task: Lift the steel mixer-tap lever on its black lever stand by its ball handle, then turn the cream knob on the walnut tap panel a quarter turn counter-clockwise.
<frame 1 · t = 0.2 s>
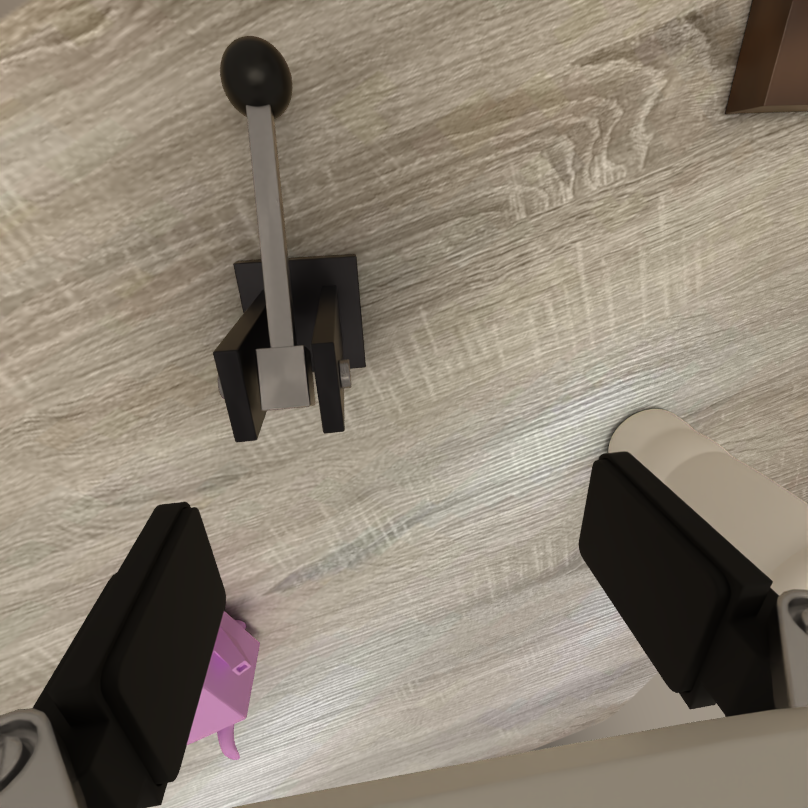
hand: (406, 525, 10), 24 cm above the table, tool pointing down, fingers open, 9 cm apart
black lever stand: (305, 314, 31), on the table
teapot: (207, 618, 43), on the table
water bottle: (639, 438, 41), on the table
faucet lever: (272, 229, 20), point 9 cm above the table, hinge at -25.0°
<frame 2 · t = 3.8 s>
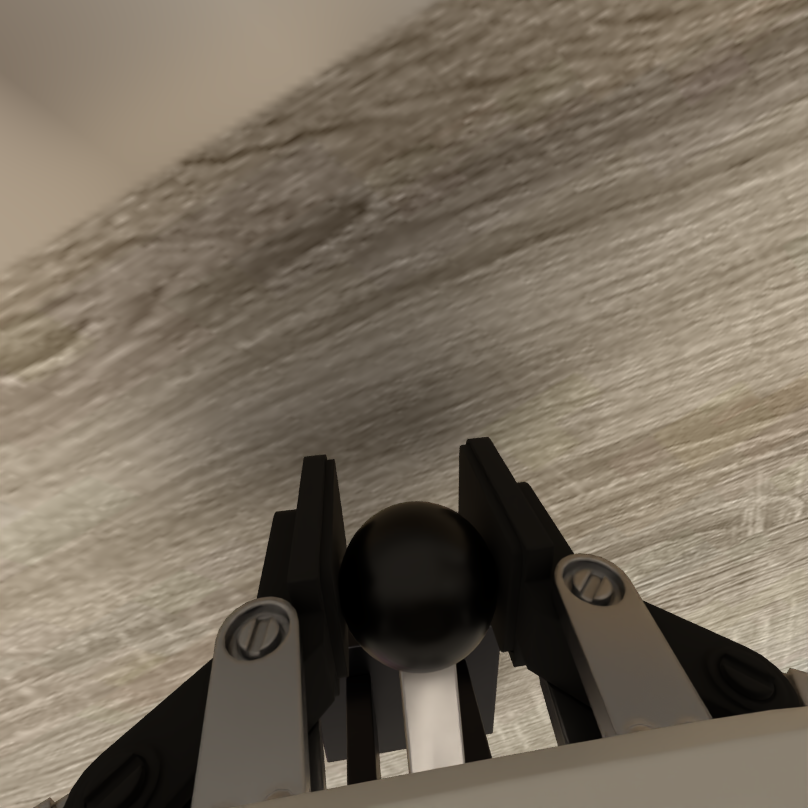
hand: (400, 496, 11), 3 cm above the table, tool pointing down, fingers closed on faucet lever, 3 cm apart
black lever stand: (404, 671, 20), on the table
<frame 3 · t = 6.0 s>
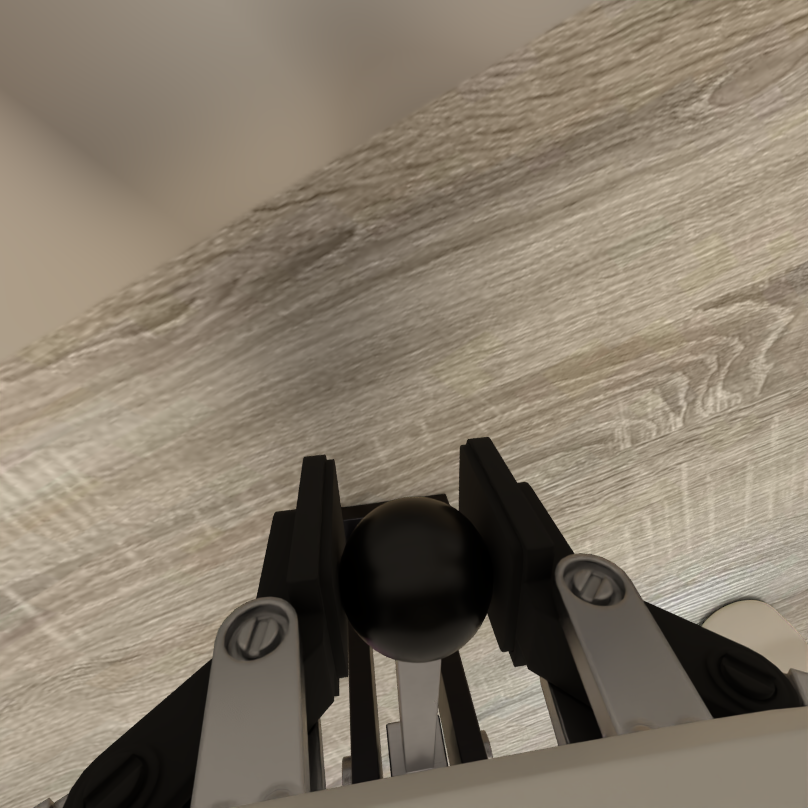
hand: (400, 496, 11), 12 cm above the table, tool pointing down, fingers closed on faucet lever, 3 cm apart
black lever stand: (386, 550, 28), on the table
water bottle: (728, 622, 38), on the table
faucet lever: (416, 698, 13), point 13 cm above the table, hinge at 12.0°, touching gripper
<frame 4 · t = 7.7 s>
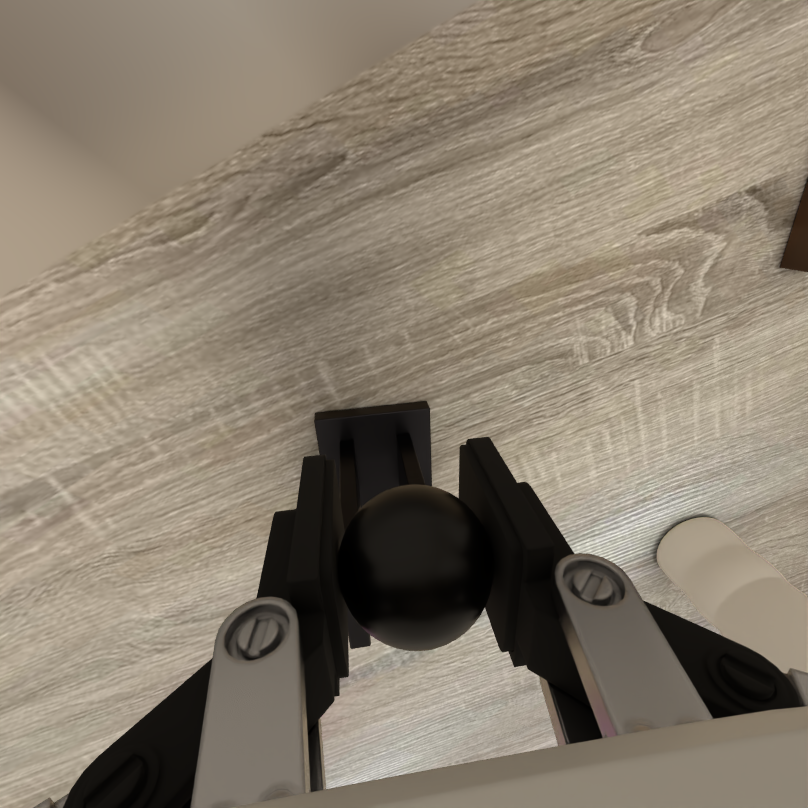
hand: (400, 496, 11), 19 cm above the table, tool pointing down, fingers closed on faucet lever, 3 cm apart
black lever stand: (376, 454, 33), on the table
water bottle: (685, 540, 42), on the table
faucet lever: (400, 574, 15), point 17 cm above the table, hinge at 40.8°, touching gripper
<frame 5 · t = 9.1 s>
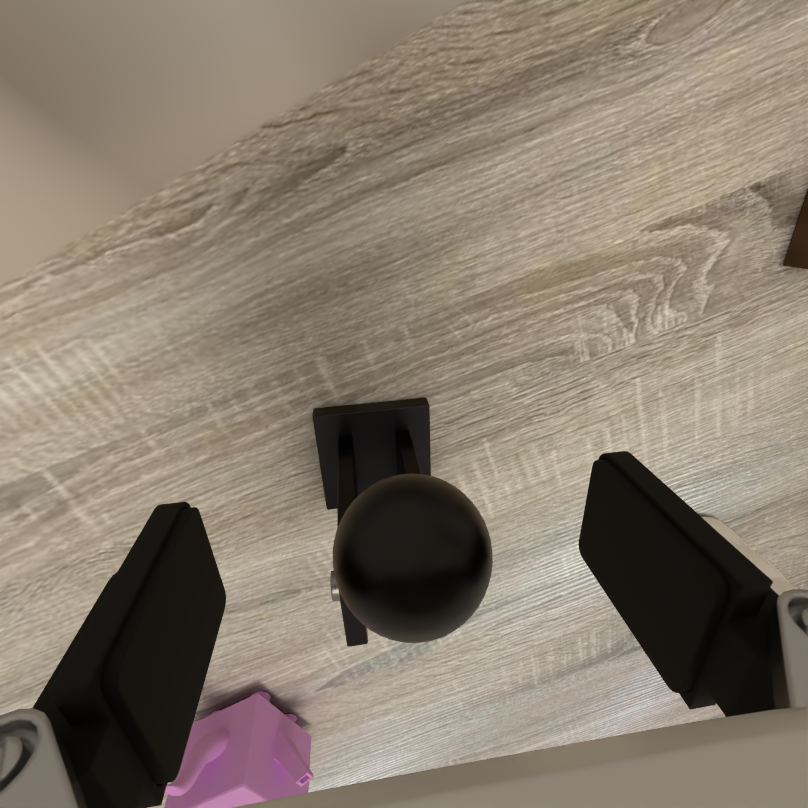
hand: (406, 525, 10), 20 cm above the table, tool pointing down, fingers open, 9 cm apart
black lever stand: (374, 450, 32), on the table
teapot: (260, 713, 44), on the table
water bottle: (685, 540, 42), on the table
faucet lever: (398, 570, 15), point 17 cm above the table, hinge at 40.4°
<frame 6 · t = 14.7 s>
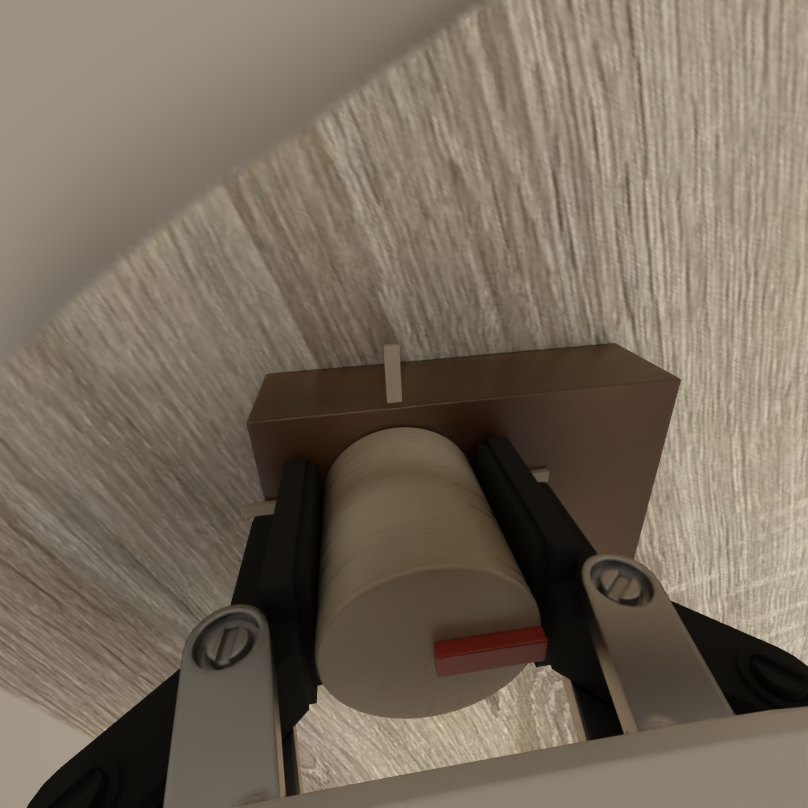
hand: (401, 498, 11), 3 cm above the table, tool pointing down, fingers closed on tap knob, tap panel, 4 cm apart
tap panel: (447, 477, 15), on the table
tap knob: (413, 560, 9), point 5 cm above the table, hinge at 0.0°, touching gripper
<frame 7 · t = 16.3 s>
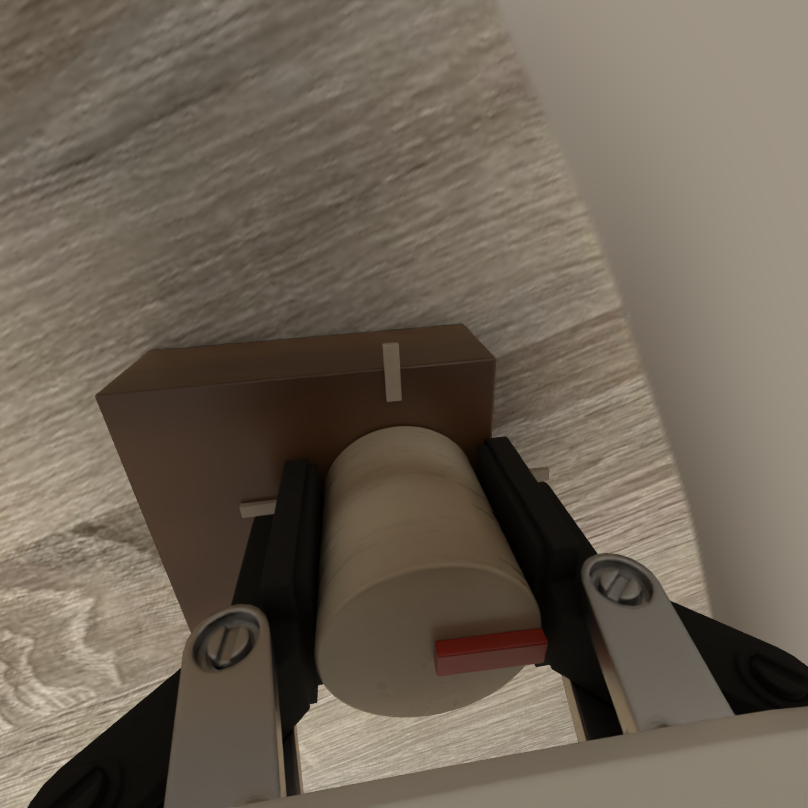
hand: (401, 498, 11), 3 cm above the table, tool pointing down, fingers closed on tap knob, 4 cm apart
tap panel: (334, 490, 15), on the table
tap knob: (413, 559, 9), point 5 cm above the table, hinge at 87.0°, touching gripper
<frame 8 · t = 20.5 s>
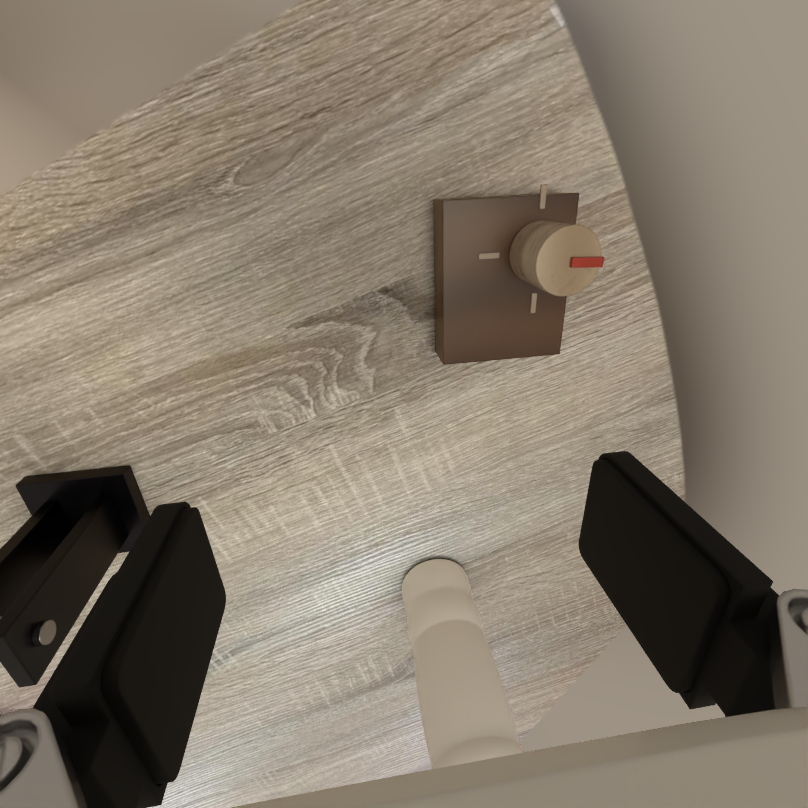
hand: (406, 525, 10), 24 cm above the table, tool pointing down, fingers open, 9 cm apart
black lever stand: (95, 509, 37), on the table
water bottle: (433, 578, 46), on the table
tap panel: (493, 277, 32), on the table
tap knob: (553, 257, 27), point 5 cm above the table, hinge at 87.1°
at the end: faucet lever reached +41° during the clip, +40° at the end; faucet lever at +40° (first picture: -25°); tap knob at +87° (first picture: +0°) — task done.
